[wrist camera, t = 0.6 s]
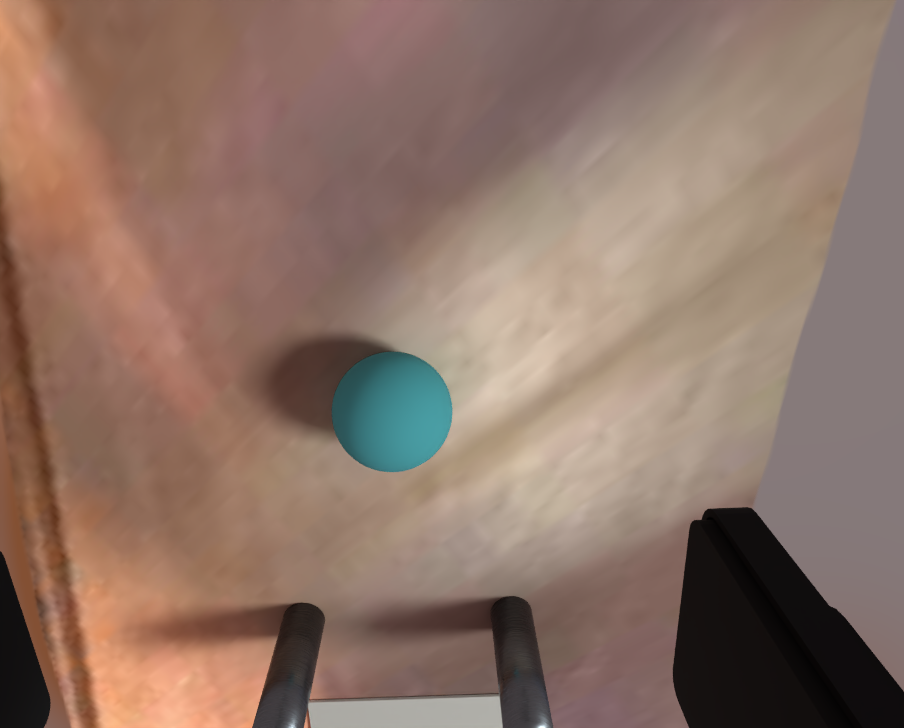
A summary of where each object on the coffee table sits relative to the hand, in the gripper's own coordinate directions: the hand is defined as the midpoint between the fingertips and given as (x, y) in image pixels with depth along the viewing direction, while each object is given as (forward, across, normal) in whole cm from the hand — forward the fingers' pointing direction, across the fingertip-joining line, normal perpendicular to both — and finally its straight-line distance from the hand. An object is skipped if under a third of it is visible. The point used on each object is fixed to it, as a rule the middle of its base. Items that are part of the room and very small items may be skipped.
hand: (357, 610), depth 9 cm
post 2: (+27, -5, +24) cm, 36 cm away
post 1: (+27, +8, +24) cm, 37 cm away
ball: (+23, +1, +8) cm, 25 cm away
